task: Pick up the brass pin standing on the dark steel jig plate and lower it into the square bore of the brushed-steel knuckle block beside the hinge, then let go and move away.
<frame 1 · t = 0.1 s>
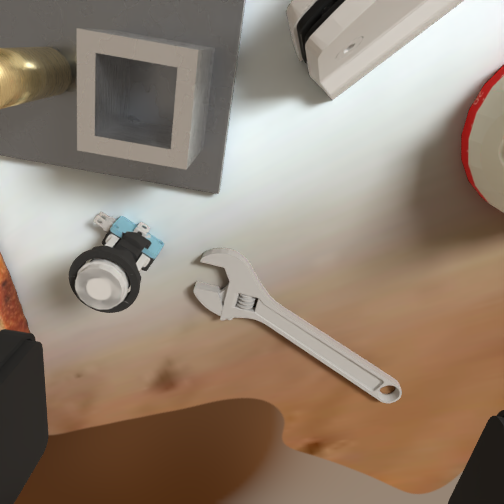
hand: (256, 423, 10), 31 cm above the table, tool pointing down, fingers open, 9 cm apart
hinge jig: (115, 81, 37), on the table
brass pin: (48, 71, 36), point 1 cm above the table, touching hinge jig
adjustable wrench: (296, 330, 46), on the table
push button: (133, 231, 43), on the table
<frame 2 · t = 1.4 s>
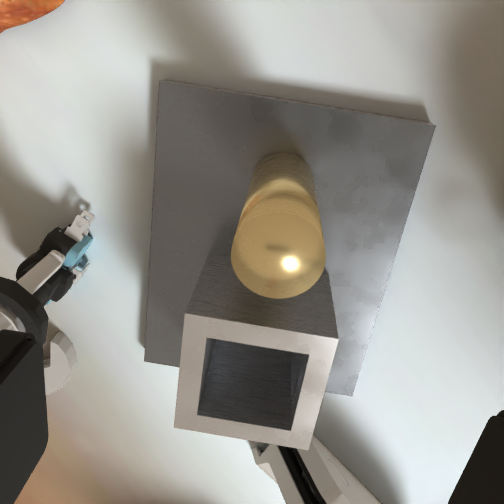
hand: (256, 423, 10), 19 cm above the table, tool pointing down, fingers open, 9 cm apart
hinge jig: (269, 253, 29), on the table
brass pin: (282, 183, 26), point 1 cm above the table, touching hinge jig
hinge: (348, 484, 38), on the table
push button: (73, 247, 31), on the table
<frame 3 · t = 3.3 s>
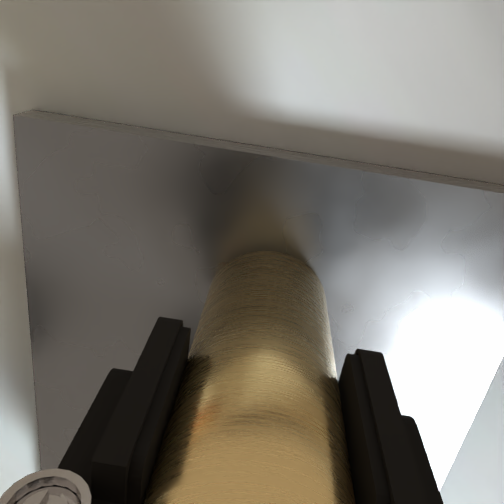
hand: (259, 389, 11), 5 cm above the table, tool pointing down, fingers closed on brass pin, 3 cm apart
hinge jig: (246, 403, 17), on the table
brass pin: (266, 304, 14), point 1 cm above the table, touching gripper, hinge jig
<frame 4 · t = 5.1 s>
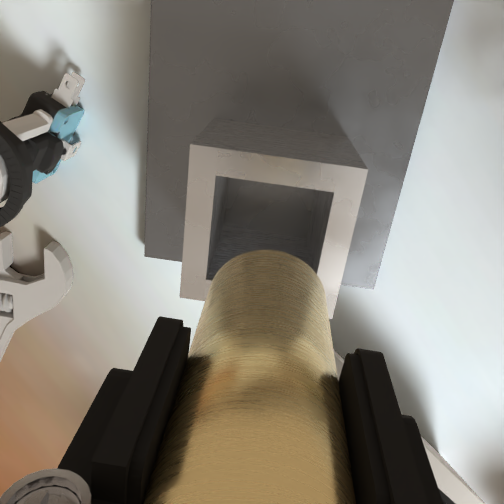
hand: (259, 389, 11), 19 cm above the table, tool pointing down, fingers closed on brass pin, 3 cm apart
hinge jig: (281, 121, 26), on the table
brass pin: (266, 303, 14), point 15 cm above the table, touching gripper
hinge: (365, 397, 35), on the table
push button: (63, 124, 28), on the table
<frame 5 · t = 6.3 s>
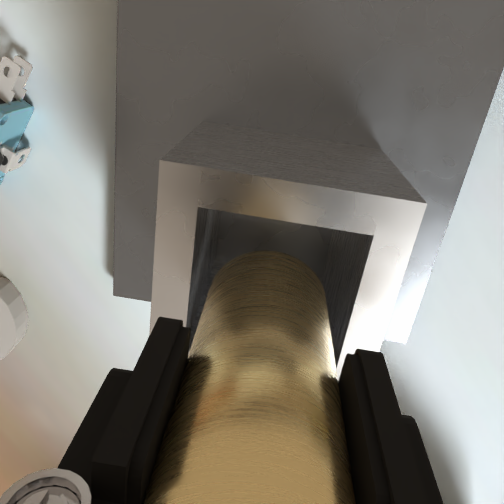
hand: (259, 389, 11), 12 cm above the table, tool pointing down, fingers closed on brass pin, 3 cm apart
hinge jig: (292, 126, 20), on the table
brass pin: (266, 303, 14), point 8 cm above the table, touching gripper
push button: (7, 124, 21), on the table
when the fingers open (9 cm above the table, at t = 7.2 s): brass pin drops 4 cm, resting on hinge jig.
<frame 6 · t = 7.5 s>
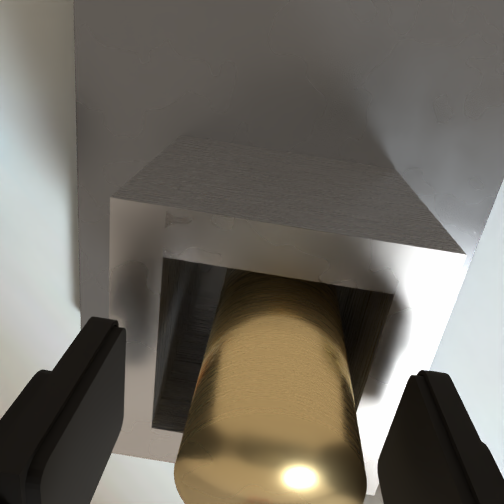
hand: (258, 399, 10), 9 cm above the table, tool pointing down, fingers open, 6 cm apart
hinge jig: (289, 140, 17), on the table
brass pin: (281, 249, 17), point 1 cm above the table, touching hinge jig
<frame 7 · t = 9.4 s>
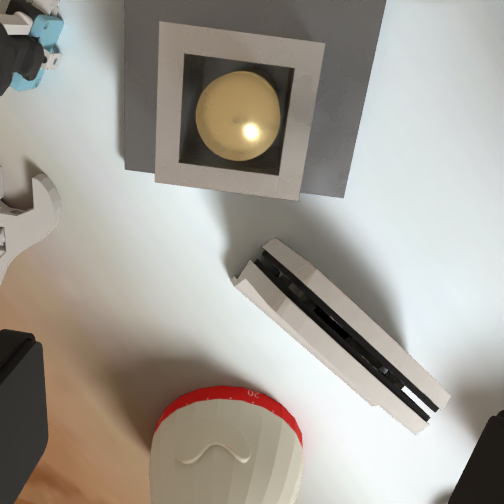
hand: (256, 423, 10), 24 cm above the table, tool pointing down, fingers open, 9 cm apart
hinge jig: (251, 29, 28), on the table
brass pin: (249, 98, 29), point 1 cm above the table, touching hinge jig
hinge: (335, 311, 37), on the table
kitchen timer: (228, 440, 43), on the table
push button: (43, 37, 29), on the table
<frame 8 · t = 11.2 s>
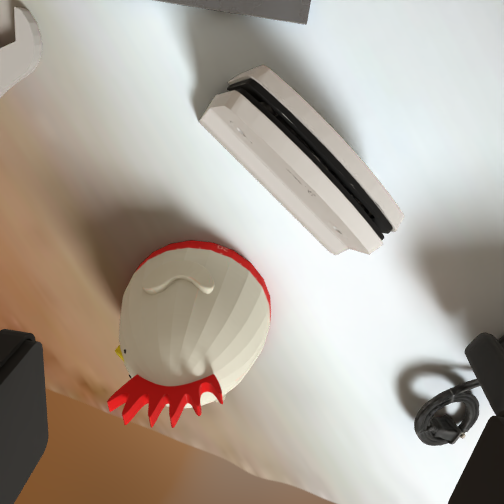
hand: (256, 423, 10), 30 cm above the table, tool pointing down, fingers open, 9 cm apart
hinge: (300, 157, 38), on the table
kitchen timer: (200, 304, 45), on the table
milk frother: (490, 381, 46), on the table
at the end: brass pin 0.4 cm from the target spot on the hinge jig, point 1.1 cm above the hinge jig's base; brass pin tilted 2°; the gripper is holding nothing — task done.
